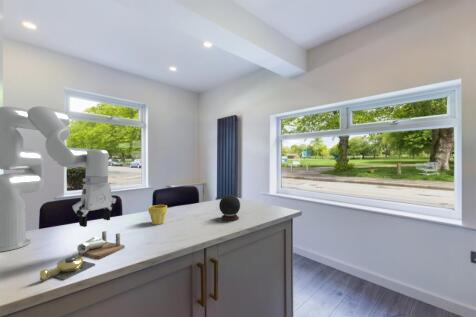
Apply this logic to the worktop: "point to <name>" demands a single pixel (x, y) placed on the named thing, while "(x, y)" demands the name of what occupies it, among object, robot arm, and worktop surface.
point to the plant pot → (158, 214)
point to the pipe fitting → (91, 244)
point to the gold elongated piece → (63, 267)
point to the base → (69, 274)
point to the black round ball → (229, 208)
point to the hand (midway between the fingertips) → (95, 222)
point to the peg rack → (104, 248)
